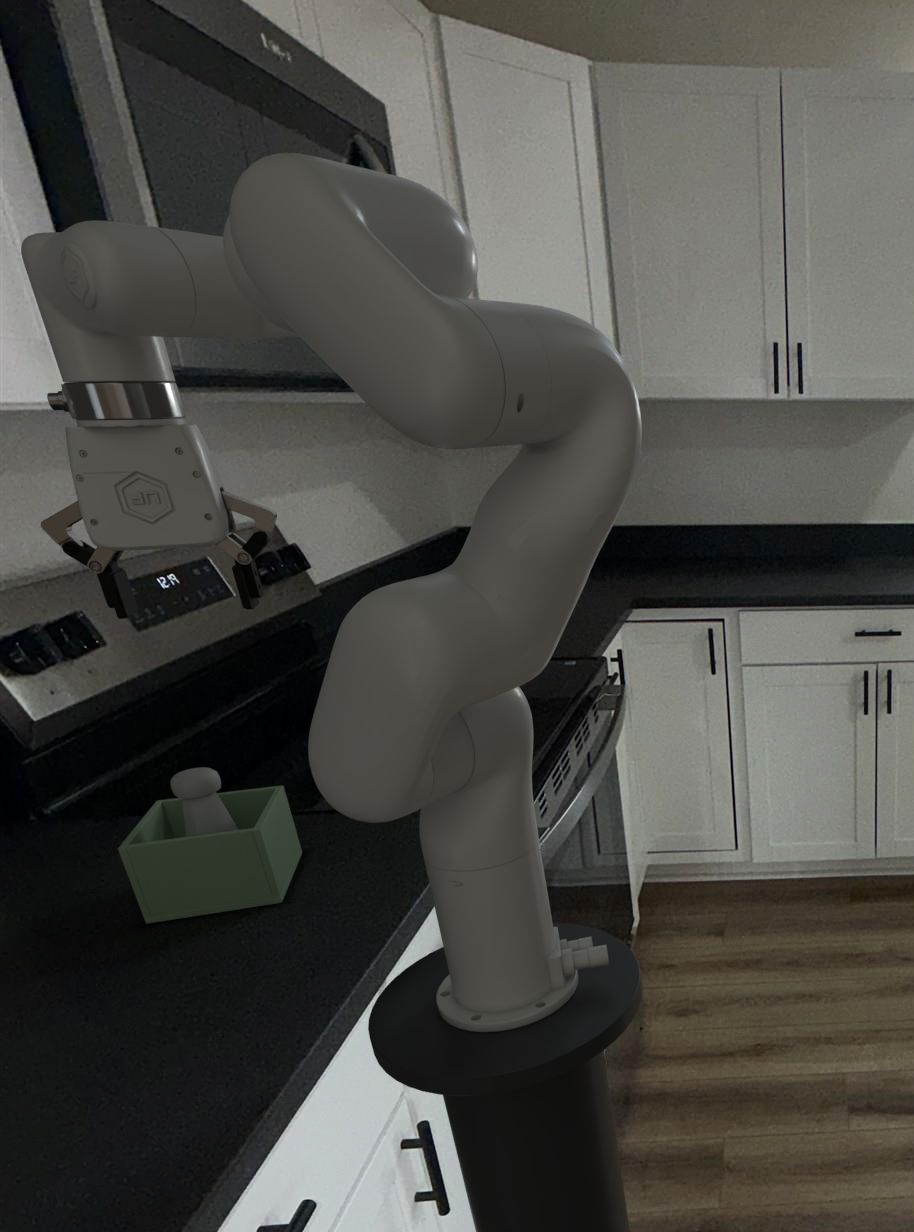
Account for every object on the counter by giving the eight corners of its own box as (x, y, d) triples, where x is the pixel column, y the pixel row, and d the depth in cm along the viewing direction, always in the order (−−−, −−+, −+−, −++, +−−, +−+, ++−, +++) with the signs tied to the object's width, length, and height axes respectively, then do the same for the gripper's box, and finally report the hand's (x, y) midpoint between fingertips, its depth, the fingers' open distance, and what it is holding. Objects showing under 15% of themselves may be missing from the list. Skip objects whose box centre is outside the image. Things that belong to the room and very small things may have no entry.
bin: (302, 852, 110) (283, 785, 106) (282, 902, 99) (259, 829, 95) (180, 870, 106) (156, 800, 102) (145, 924, 95) (117, 848, 92)
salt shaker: (187, 883, 101) (149, 774, 96) (243, 862, 106) (209, 757, 100) (211, 898, 98) (173, 786, 93) (267, 876, 103) (234, 769, 97)
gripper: (-21, 409, 71) (60, 628, 78) (236, 406, 76) (291, 611, 83) (22, 408, 77) (93, 610, 84) (257, 405, 83) (305, 595, 90)
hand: (191, 611), depth 84 cm, fingers open, 9 cm apart
